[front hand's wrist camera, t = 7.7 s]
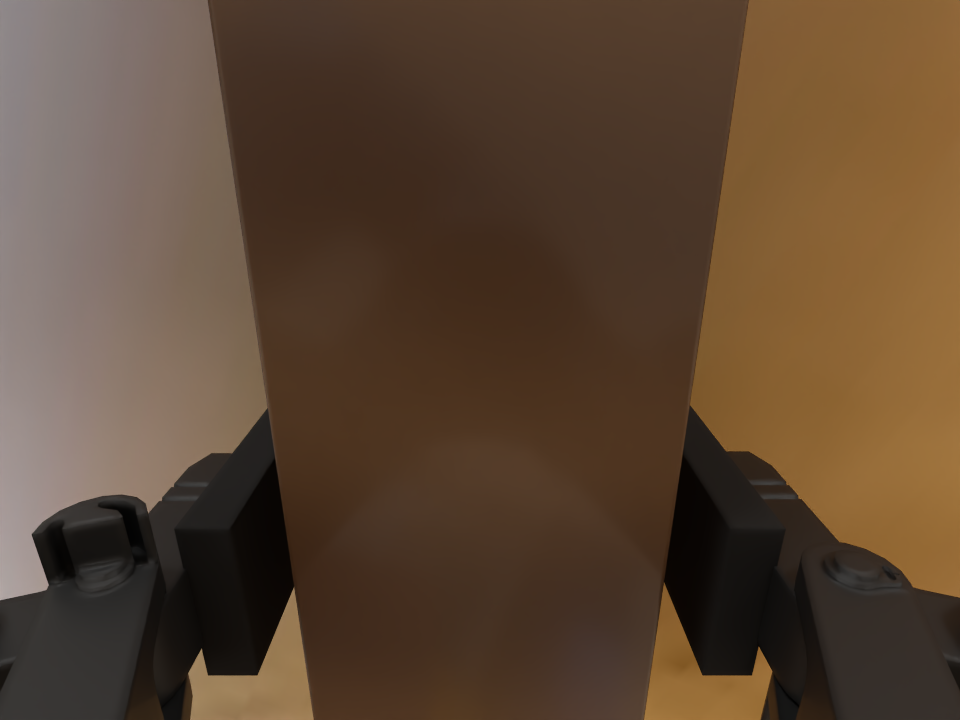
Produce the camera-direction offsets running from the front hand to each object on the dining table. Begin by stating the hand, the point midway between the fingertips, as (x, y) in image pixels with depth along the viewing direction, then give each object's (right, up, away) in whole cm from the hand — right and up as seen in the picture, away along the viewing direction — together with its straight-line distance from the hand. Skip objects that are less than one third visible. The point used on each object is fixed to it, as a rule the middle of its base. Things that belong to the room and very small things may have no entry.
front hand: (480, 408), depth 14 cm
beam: (0, +23, -8) cm, 25 cm away
